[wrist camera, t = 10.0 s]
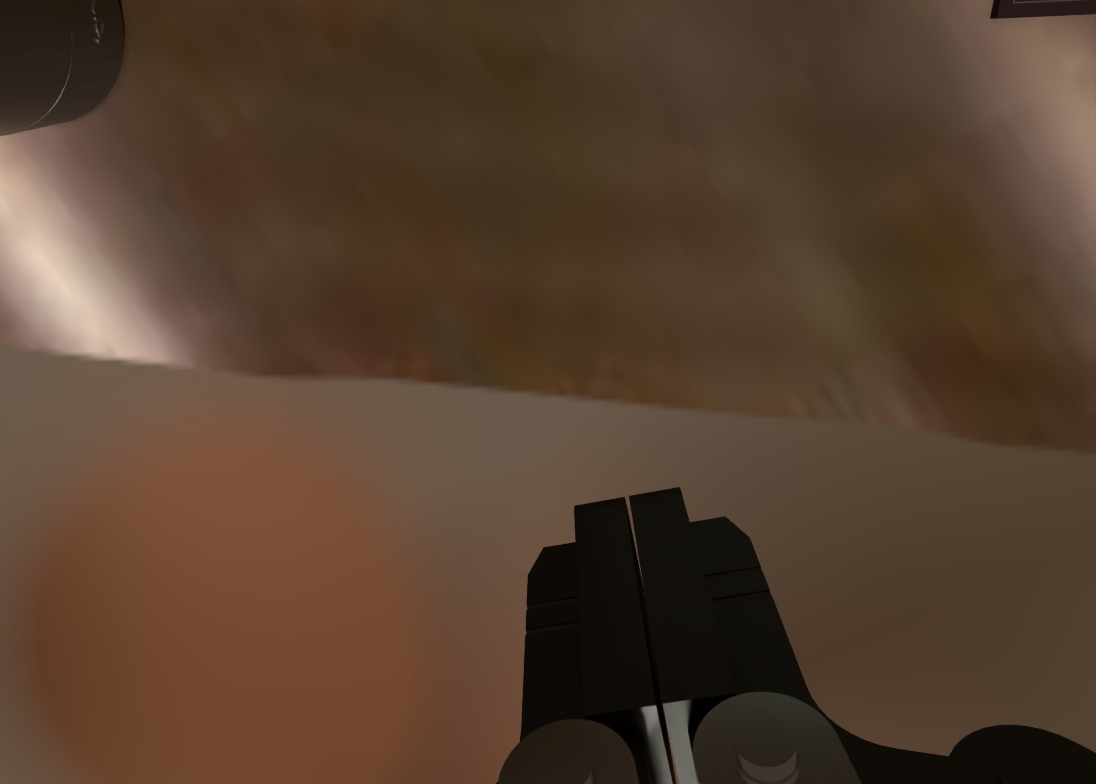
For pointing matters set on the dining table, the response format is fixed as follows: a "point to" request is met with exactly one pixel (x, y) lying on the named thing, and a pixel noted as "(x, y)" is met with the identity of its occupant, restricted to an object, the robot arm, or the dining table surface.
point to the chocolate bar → (1041, 8)
